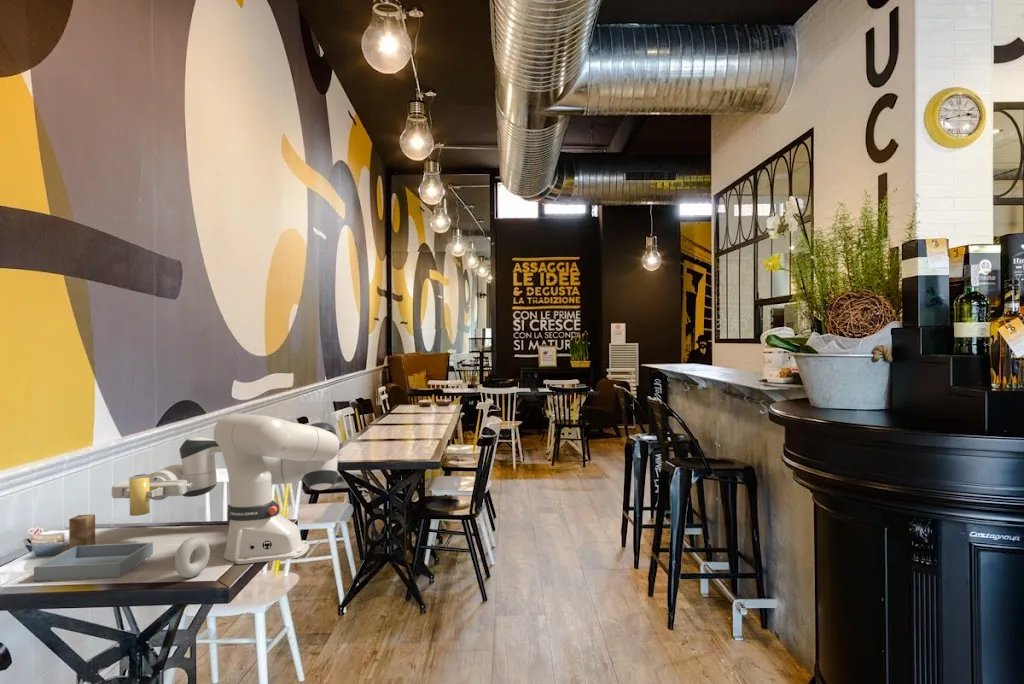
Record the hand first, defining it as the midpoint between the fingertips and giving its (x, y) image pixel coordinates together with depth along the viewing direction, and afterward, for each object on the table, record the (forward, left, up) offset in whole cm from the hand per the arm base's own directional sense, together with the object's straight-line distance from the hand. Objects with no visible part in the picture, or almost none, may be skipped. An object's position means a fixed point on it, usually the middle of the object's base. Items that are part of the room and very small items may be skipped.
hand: (137, 495), depth 182 cm
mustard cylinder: (0, -1, -6) cm, 6 cm away
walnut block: (+16, -1, -16) cm, 23 cm away
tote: (+4, +14, -16) cm, 22 cm away
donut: (-25, +25, -16) cm, 39 cm away
